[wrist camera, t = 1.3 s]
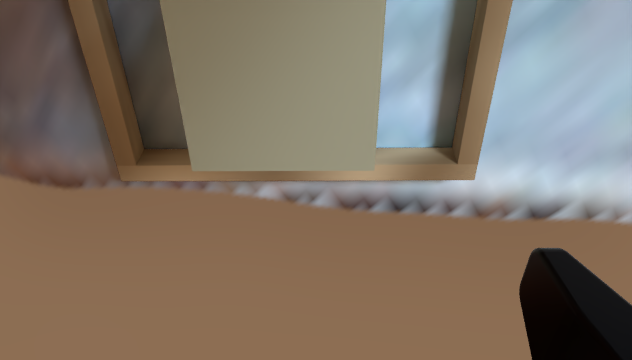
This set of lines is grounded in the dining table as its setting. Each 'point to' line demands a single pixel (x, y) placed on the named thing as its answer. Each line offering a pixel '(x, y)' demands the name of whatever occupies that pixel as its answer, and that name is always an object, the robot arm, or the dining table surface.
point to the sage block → (277, 82)
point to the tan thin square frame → (389, 165)
